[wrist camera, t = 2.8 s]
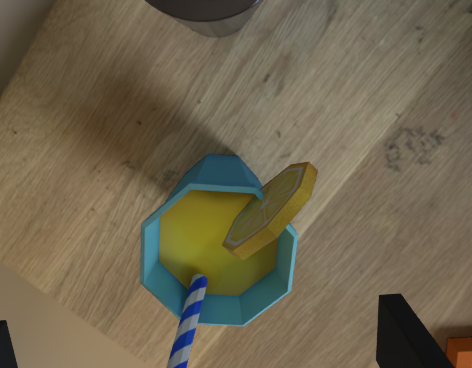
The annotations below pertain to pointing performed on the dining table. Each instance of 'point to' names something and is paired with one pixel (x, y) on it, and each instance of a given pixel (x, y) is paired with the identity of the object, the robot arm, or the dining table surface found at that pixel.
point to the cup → (223, 245)
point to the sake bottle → (209, 14)
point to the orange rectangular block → (460, 352)
